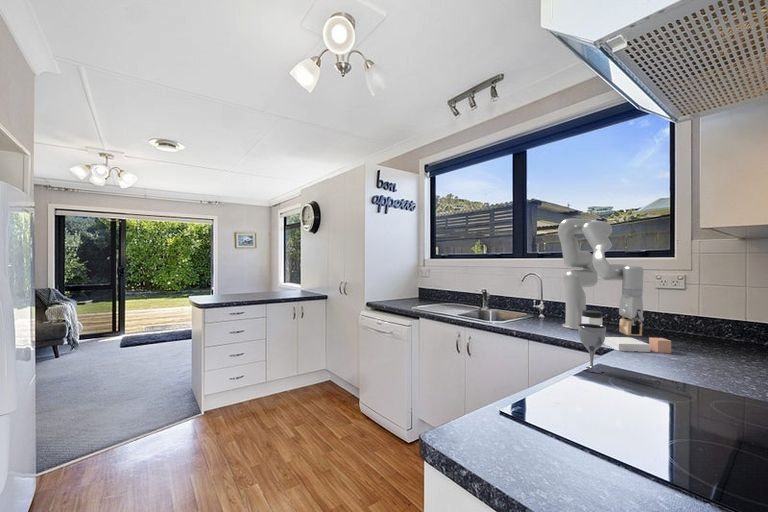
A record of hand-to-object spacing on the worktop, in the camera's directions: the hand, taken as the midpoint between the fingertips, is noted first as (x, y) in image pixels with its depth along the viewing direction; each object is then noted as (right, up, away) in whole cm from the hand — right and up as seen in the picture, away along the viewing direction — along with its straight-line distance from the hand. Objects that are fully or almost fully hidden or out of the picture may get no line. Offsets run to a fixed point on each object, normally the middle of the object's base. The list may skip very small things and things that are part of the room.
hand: (630, 331), depth 151 cm
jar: (-11, -5, +11) cm, 16 cm away
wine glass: (-42, -4, -39) cm, 57 cm away
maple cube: (0, -1, 0) cm, 1 cm away
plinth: (-10, -4, -10) cm, 15 cm away
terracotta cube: (+1, -5, -15) cm, 16 cm away
